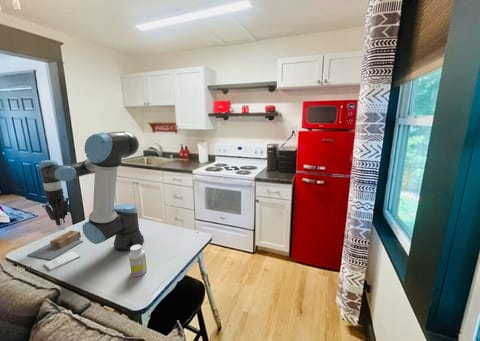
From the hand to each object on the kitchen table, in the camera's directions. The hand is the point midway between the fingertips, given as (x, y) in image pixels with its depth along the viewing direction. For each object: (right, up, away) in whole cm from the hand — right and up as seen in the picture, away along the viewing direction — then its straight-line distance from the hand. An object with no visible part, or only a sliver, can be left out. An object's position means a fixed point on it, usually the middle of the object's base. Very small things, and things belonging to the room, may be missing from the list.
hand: (61, 229), depth 128 cm
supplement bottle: (+53, -14, -22) cm, 59 cm away
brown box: (-1, -8, -3) cm, 8 cm away
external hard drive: (+11, -13, -13) cm, 21 cm away
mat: (-1, -10, -2) cm, 10 cm away
